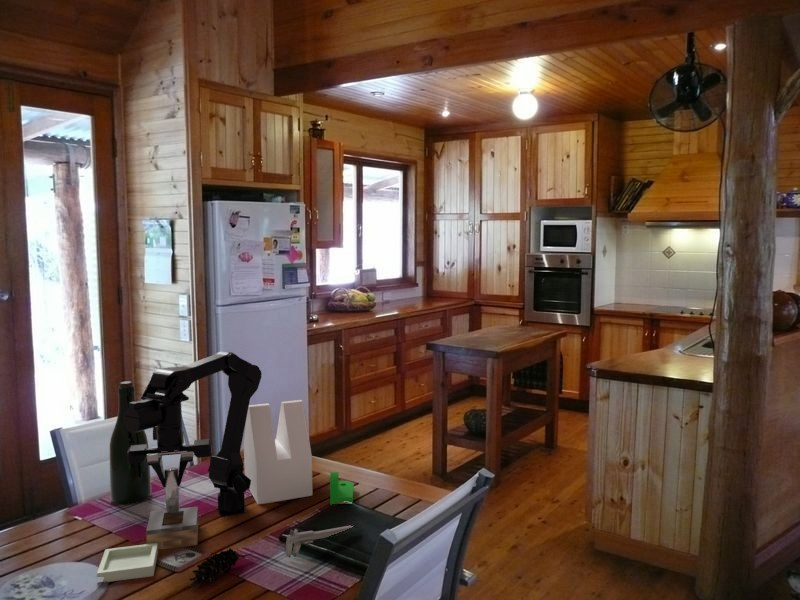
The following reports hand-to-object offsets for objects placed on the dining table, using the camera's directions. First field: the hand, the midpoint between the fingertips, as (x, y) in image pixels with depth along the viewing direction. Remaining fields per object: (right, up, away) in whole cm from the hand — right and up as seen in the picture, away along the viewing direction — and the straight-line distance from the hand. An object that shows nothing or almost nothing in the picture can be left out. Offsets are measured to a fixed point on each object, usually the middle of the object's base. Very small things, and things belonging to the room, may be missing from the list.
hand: (171, 486), depth 154 cm
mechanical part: (+38, -11, +27) cm, 48 cm away
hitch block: (0, -13, +1) cm, 13 cm away
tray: (-5, -14, -13) cm, 20 cm away
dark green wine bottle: (-20, -11, +26) cm, 34 cm away
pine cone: (+20, -17, -11) cm, 29 cm away
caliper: (+37, -14, -3) cm, 40 cm away
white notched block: (+19, -10, +33) cm, 39 cm away
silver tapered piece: (0, -6, +1) cm, 6 cm away
